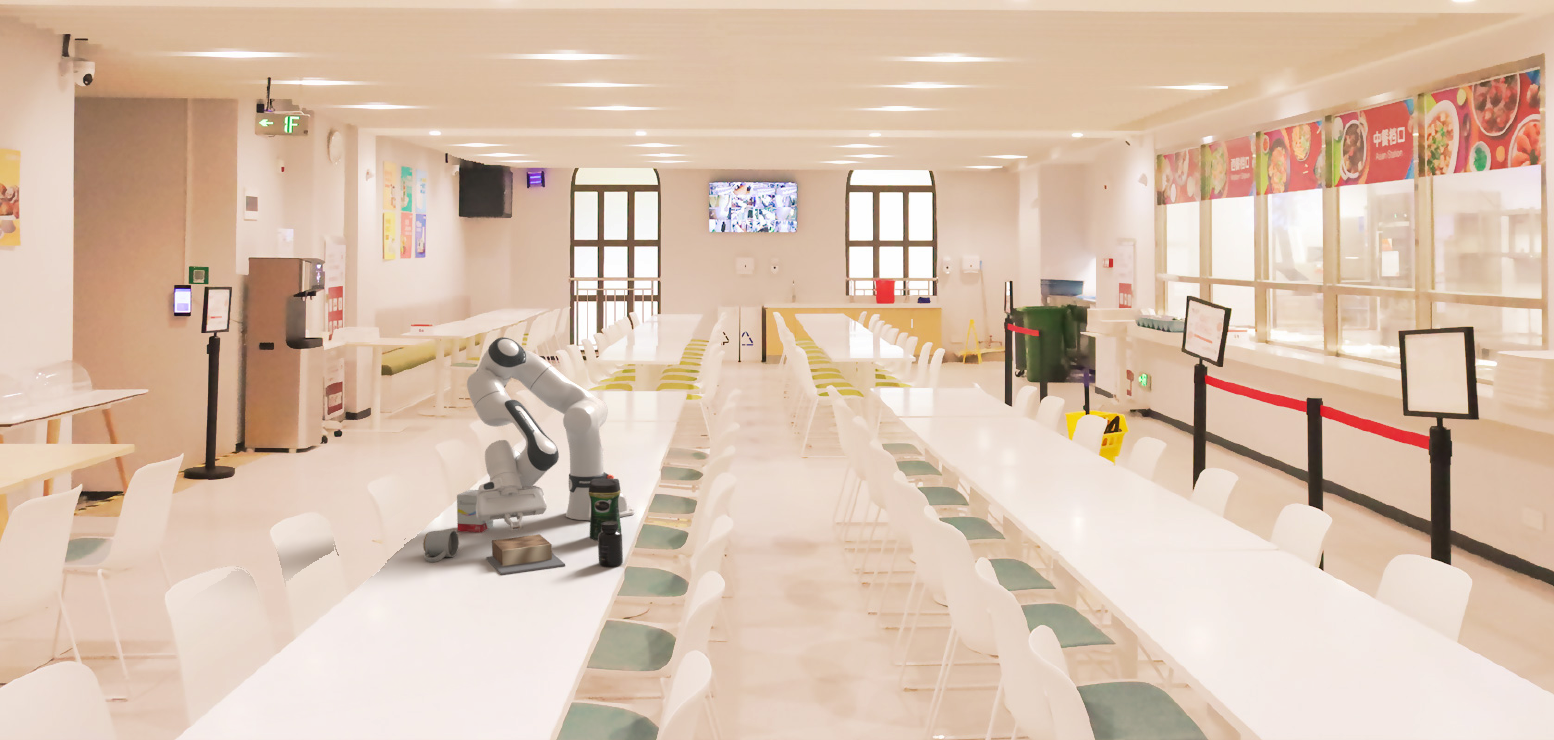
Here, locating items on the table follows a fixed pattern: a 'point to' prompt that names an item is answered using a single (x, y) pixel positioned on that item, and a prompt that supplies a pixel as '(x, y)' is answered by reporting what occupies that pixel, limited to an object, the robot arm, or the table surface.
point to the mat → (525, 565)
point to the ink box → (469, 513)
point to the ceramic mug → (440, 544)
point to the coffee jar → (603, 504)
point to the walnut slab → (521, 549)
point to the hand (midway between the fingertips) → (516, 528)
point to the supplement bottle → (610, 545)
